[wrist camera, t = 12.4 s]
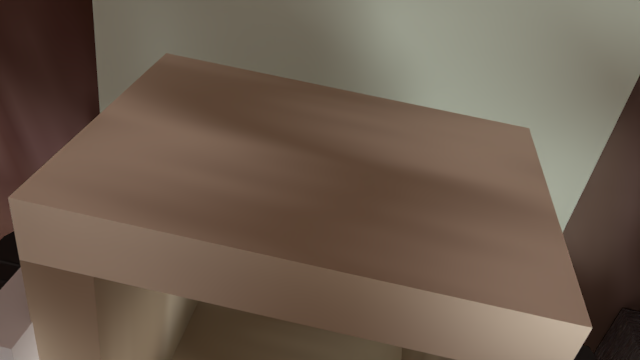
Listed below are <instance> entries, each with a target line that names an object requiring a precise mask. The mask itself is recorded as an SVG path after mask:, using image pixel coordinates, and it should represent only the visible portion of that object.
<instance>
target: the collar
mask: <svg viewBox="0 0 640 360" xmlns="http://www.w3.org/2000/svg"><path fill="white" fill-rule="evenodd" d="M8 200H9V205H10V211H11V216H12V222H13V227H14V233H15V238H16V244H17V249H18V255H19V260H20V265H21V271H22V276H23V282H24V287H25V293H26V298H27V304H28V309H29V315H30V320H31V322H32V323H33V328H34V334H35V339H36V345H37V350H38V356H39V360H574V358H575V357H576V355H577V353H578V352H579V350H580V348H581V347H582V345H583V343H584V342H585V340H586V338H587V337H588V335H589V333H590V332H591V330H592V324H591V321H590V318H589V315H588V312H587V309H586V306H585V302H584V299H583V296H582V293H581V290H580V287H579V284H578V280H577V277H576V274H575V271H574V268H573V265H572V262H571V258H570V255H569V252H568V249H567V246H566V243H565V240H564V236H563V233H562V230H561V227H560V224H559V221H558V218H557V214H556V211H555V208H554V205H553V202H552V199H551V196H550V192H549V189H548V186H547V183H546V180H545V177H544V174H543V170H542V167H541V164H540V161H539V158H538V155H537V151H536V148H535V145H534V142H533V139H532V136H531V133H530V129H529V128H526V127H521V126H516V125H511V124H506V123H502V122H497V121H492V120H487V119H482V118H477V117H473V116H468V115H463V114H458V113H453V112H448V111H444V110H439V109H434V108H429V107H424V106H419V105H415V104H410V103H405V102H400V101H395V100H390V99H386V98H381V97H376V96H371V95H366V94H362V93H357V92H352V91H347V90H342V89H337V88H333V87H328V86H323V85H318V84H313V83H308V82H304V81H299V80H294V79H289V78H284V77H279V76H275V75H270V74H265V73H260V72H255V71H250V70H246V69H241V68H236V67H231V66H226V65H221V64H217V63H212V62H207V61H202V60H197V59H192V58H188V57H183V56H178V55H173V54H168V53H166V54H165V55H164V56H162V57H161V58H160V59H159V60H158V61H157V62H156V63H155V64H154V65H153V66H152V67H150V68H149V69H148V70H147V71H146V72H145V73H144V74H143V75H142V76H141V77H139V78H138V79H137V80H136V81H135V82H134V83H133V84H132V85H131V86H130V87H129V88H127V89H126V90H125V91H124V92H123V93H122V94H121V95H120V96H119V97H118V98H116V99H115V100H114V101H113V102H112V103H111V104H110V105H109V106H108V107H107V108H106V109H104V110H103V111H102V112H101V113H100V114H99V115H98V116H97V117H96V118H95V119H93V120H92V121H91V122H90V123H89V124H88V125H87V126H86V127H85V128H84V129H83V130H81V131H80V132H79V133H78V134H77V135H76V136H75V137H74V138H73V139H72V140H70V141H69V142H68V143H67V144H66V145H65V146H64V147H63V148H62V149H61V150H60V151H58V152H57V153H56V154H55V155H54V156H53V157H52V158H51V159H50V160H49V161H47V162H46V163H45V164H44V165H43V166H42V167H41V168H40V169H39V170H38V171H37V172H35V173H34V174H33V175H32V176H31V177H30V178H29V179H28V180H27V181H26V182H24V183H23V184H22V185H21V186H20V187H19V188H18V189H17V190H16V191H15V192H14V193H12V194H11V195H10V196H9V197H8Z"/></svg>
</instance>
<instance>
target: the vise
mask: <svg viewBox="0 0 640 360" xmlns="http://www.w3.org/2000/svg"><path fill="white" fill-rule="evenodd" d="M594 355H595V356H596V358H597V359H598V360H640V312H638V311H633V310H629V309H624V308H622V310H621V311H620V313H619V314H618V316H617V318H616V319H615V321H614V323H613V324H612V326H611V327H610V329H609V331H608V332H607V334H606V335H605V337H604V339H603V340H602V342H601V343H600V345H599V347H598V348H597V350H596V352H595V353H594Z"/></svg>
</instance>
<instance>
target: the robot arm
mask: <svg viewBox="0 0 640 360" xmlns="http://www.w3.org/2000/svg"><path fill="white" fill-rule="evenodd" d="M0 360H39V356H38V350H37V345H36V339H35V334H34V328H33V323H32V322H31V320H30V315H29V309H28V304H27V298H26V293H25V287H24V282H23V276H22V271H21V265H20V260H19V255H18V249H17V244H16V238H15V233H14V232H12V233H10V234H8V235H6V236H4V237H3V238H2V239H1V240H0ZM574 360H598V359H597V358H596V356H595V355H594V354H593V352H592V351H591V350H590V348H589V347H588V346H584V345H582V347H581V348H580V350H579V352H578V353H577V355H576V357H575V358H574Z"/></svg>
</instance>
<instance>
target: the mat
mask: <svg viewBox="0 0 640 360" xmlns="http://www.w3.org/2000/svg"><path fill="white" fill-rule="evenodd" d="M92 3H93V18H94V33H95V48H96V63H97V78H98V93H99V107H100V113H101V112H102V111H103V110H104V109H106V108H107V107H108V106H109V105H110V104H111V103H112V102H113V101H114V100H115V99H116V98H118V97H119V96H120V95H121V94H122V93H123V92H124V91H125V90H126V89H127V88H129V87H130V86H131V85H132V84H133V83H134V82H135V81H136V80H137V79H138V78H139V77H141V76H142V75H143V74H144V73H145V72H146V71H147V70H148V69H149V68H150V67H152V66H153V65H154V64H155V63H156V62H157V61H158V60H159V59H160V58H161V57H162V56H164V55H165V54H166V53H168V54H173V55H178V56H183V57H188V58H192V59H197V60H202V61H207V62H212V63H217V64H221V65H226V66H231V67H236V68H241V69H246V70H250V71H255V72H260V73H265V74H270V75H275V76H279V77H284V78H289V79H294V80H299V81H304V82H308V83H313V84H318V85H323V86H328V87H333V88H337V89H342V90H347V91H352V92H357V93H362V94H366V95H371V96H376V97H381V98H386V99H390V100H395V101H400V102H405V103H410V104H415V105H419V106H424V107H429V108H434V109H439V110H444V111H448V112H453V113H458V114H463V115H468V116H473V117H477V118H482V119H487V120H492V121H497V122H502V123H506V124H511V125H516V126H521V127H526V128H529V129H530V133H531V136H532V139H533V142H534V145H535V148H536V151H537V155H538V158H539V161H540V164H541V167H542V170H543V174H544V177H545V180H546V183H547V186H548V189H549V192H550V196H551V199H552V202H553V205H554V208H555V211H556V214H557V218H558V221H559V224H560V227H561V230H562V233H563V231H564V229H565V227H566V224H567V222H568V220H569V218H570V216H571V214H572V212H573V210H574V208H575V206H576V204H577V202H578V200H579V198H580V196H581V194H582V192H583V190H584V188H585V186H586V184H587V182H588V180H589V178H590V176H591V173H592V171H593V169H594V167H595V165H596V163H597V161H598V159H599V157H600V155H601V153H602V151H603V149H604V147H605V145H606V143H607V141H608V139H609V137H610V135H611V133H612V131H613V129H614V127H615V125H616V122H617V120H618V118H619V116H620V114H621V112H622V110H623V108H624V106H625V104H626V102H627V100H628V98H629V96H630V94H631V92H632V90H633V88H634V86H635V84H636V82H637V80H638V78H639V76H640V0H92Z"/></svg>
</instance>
